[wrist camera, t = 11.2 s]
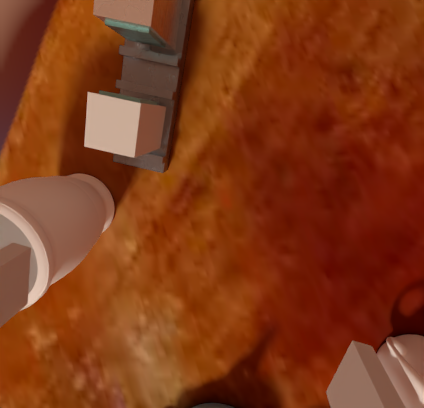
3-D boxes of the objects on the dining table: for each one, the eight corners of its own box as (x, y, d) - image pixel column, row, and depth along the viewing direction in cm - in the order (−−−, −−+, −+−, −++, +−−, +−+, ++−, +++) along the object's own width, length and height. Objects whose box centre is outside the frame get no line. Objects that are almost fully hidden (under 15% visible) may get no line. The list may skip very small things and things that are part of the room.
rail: (140, -35, 29) (91, -108, 20) (198, -23, 29) (176, -92, 19) (120, 159, 35) (74, 174, 26) (167, 169, 35) (139, 189, 26)
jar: (101, 256, 40) (20, 334, 25) (35, 214, 39) (-87, 271, 24) (137, 194, 36) (69, 244, 22) (66, 148, 36) (-53, 168, 21)
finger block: (126, 95, 31) (88, 87, 23) (166, 103, 31) (141, 99, 23) (121, 139, 33) (84, 146, 25) (160, 148, 32) (134, 157, 25)
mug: (406, 301, 37) (468, 373, 27) (453, 365, 39) (529, 454, 28) (346, 333, 39) (382, 410, 29) (393, 391, 41) (443, 483, 31)
